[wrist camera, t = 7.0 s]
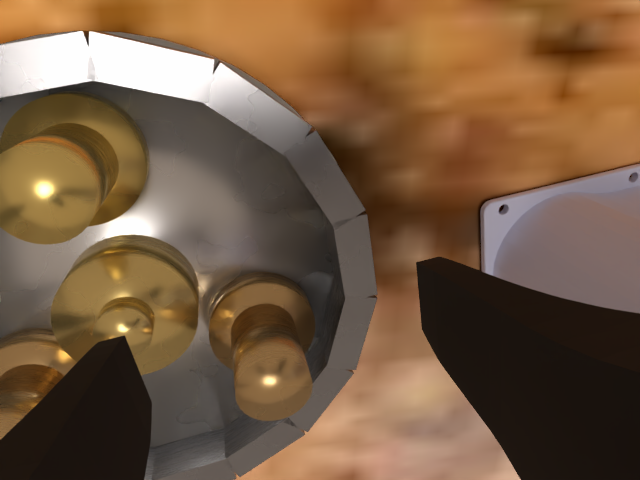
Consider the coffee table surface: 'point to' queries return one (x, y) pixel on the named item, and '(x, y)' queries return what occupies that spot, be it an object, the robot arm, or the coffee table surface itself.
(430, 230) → the coffee table surface
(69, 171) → the gear
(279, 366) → the carrier
